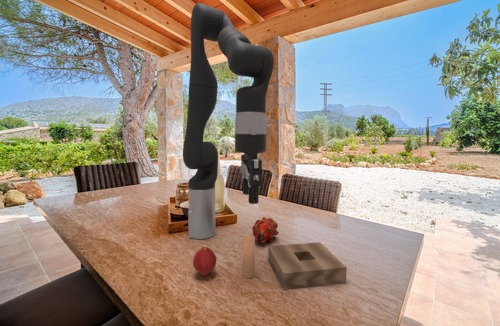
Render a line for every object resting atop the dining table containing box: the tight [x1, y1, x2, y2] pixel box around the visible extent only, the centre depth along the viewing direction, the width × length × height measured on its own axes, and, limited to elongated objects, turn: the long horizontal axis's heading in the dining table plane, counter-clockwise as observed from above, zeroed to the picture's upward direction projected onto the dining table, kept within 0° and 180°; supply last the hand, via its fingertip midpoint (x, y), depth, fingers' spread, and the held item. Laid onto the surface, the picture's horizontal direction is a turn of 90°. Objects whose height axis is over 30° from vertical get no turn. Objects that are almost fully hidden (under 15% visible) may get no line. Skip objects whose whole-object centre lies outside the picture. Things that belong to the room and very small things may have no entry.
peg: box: [242, 235, 256, 280], centre depth 61 cm, size 3×3×10 cm
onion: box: [192, 245, 217, 276], centre depth 62 cm, size 6×6×8 cm
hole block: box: [267, 241, 348, 290], centre depth 64 cm, size 16×14×4 cm
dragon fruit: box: [251, 217, 280, 245], centre depth 82 cm, size 8×8×12 cm
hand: (250, 198), depth 60 cm, fingers open, 8 cm apart
